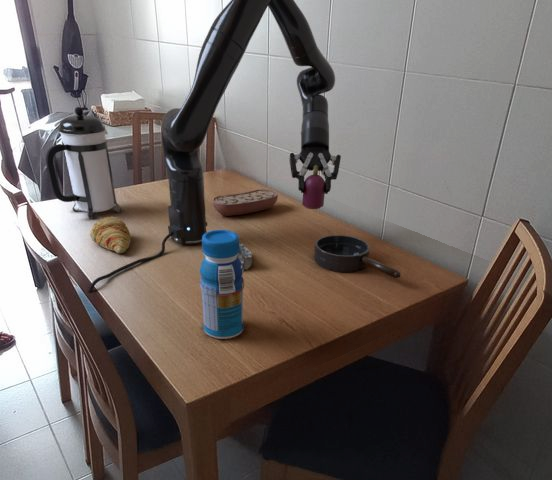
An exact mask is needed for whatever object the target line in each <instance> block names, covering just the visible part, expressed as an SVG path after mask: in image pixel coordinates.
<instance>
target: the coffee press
mask: <svg viewBox="0 0 552 480" xmlns="http://www.w3.org/2000/svg"><path fill="white" fill-rule="evenodd" d="M74 113H75V114H76V115H71V116H66V117H64V118H63V119H61V120H60V122H59V126H58V128H57V129H58V132H59V134H60V137H61V144H55V145H52V146H51V147H49V149H48V150H47V152H46V155H45V164H46V165H45V166H46V171H47V174H48V179H49V183H50V187H51V190H52V193H53V195H54V197H56V199H58V200H59V201H61V202H64V203H72V202H74V205H73V207H72V211H73V212H74V213H75V212H78V211H79V210H80V211H82V212H86V213H88V214H87V215H88V216H87V217H88V219H89V220H95V215H96V213H101V212H106V211H109V210H114V211H115V212H116V213H120V212H121V211H122V206H120V204H119V203H118V202H117V198H116V197H117V196H116V191H115V185H114V179H113V172H112V166H111V161H110V153H109V148H108V141H107V138H106V135H108V134H109V133H108V130H107V129H106V126H105V125H104V124H103V121H102V120H101V119H99V118H98V117H96V116H91V115H83V114H84V110H83V108H82V107H81V106H77V107H75V109H74ZM62 151H63V153H64V157H65V161H66V167H67V171H68V175H69V181H70V185H71V186H70V187H71V190H72V194H71V195H63V194H62V192H61V190H60V186H59V182H58V178H57V173H56V169H55V164H54V158H55V155H57V153H60V152H62ZM115 206H116V207H117V208H118V209H117V208H116V207H115ZM75 207H76V208H77V209H76V208H75Z"/></svg>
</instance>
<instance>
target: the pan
mask: <svg viewBox="0 0 552 480" xmlns="http://www.w3.org/2000/svg"><path fill="white" fill-rule="evenodd" d="M370 251H371V248H370V245H369V243H368V242H367V241H365V240H363V239H361V238H358V237H355V236H351V235H343V234H329V235H325V236H321V237H319V238H318V239H316V241H315V242H314V251H313V260H314V262H315V264H317V265H318V266H319V267H320V268H322V269H325V270H328V271H331V272H336V273H337V272H338V273H354V272H358V271H360V270H362V269H364V268H365V267H366V266H367V265H365V264H363V263H362V261H361V259H362V258H363V257H368V258H370Z"/></svg>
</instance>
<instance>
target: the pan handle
mask: <svg viewBox="0 0 552 480" xmlns="http://www.w3.org/2000/svg"><path fill="white" fill-rule="evenodd" d="M361 261H362V263H363V264H365V265H366V266H368V267H370V268H372V269H375V270H377V271H379V272H381V273H383V274H385V275H388V276H390V277H392V278H394V279H399V278H400V277H401V271H399V270H398V269H395V268H393V267H392V266H391V267H390V266H388V265H386V264H384V263H381V262H379V261H377V260H375V259H372V258H370V257H369V258H368V257H363V258H362V259H361Z"/></svg>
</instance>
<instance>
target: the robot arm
mask: <svg viewBox="0 0 552 480" xmlns="http://www.w3.org/2000/svg"><path fill="white" fill-rule="evenodd" d="M267 8H268V9H269V10H270V12H271V14H272V16H273V18H274V20H275V22H276V24H277V26H278V28H279V30H280V33H281V35H282V37H283V39H284V42H285V44H286V47H287V49H288V52H289V54H290V57H291V59H292V62H293V63H294V64H295V66H298V67H308V68H305V69H303V70H300V72H299V73H298V74H297V77H296V81H295V82H296V86H297V91H298V93H299V97H300V101H301V106H302V114H301V115H302V116H301V117H302V121H301V130H300V152H299V153H298V154H295V153H294V152H290V153H289V167H290V172H291V173H290V174H291V178H292V179H297V180H298V183H297V184H298V186H297V187H298V188H297V189H298V191H300V193H301V194H303V193H304V181H305V176H306V175H307V173H308V171H310V172H311V171H312V172H313V169H314V166H315V165H317V166H318V172H320V173H321V175H322V176H323V178H324V181H325V195H328V194H329V193H330V191H331V189H332V181H336V180H337V179H338V175H339V170H340V165H341V159H342V156H341V154H337V155H332V154H331V152H330V122H329V101H328V99H327V97H326V96H324V95H322V94H326V93H328V92H330V91H332V90H333V88H334V87H335V85H336V75H335V71H334V69H333V67H332V66H331V64H330V62H329V61H328V60H327V59H326V57H325V56H324V55H323V53H322V51H321V50H320V49H319V47H318V45H317V42H316V39H315V36H314V33H313V31H312V29H311V25H310V23H309V21H308V20H307V18H306V16H305V14H304V13H303V12H302V10H301V9H300V7H299V5H298V4H297V3H296V1H295V0H230V1H229V2H228V3H227V4H226V6H225V7H224V8H222V10H221V11H220V12H219V14H218V15H217V16H216V18H215V19H214V20H213V23H212V24H211V25H210V28H209V29H208V31H207V34H206V36H205V38H204V41H203V42H202V44H201V45H202V46H201V48H200V51H199V54H198V57H197V63H196V68H195V74H194V79H193V83H192V85H191V88H190V90H189V93H188V95H187V97H186V98H185V101H184V102H183V104H182V106H181V107H175V108H171V109H169V110H168V111H167V112H165V114H164V116H163V117H162V120H161V124H160V126H161V127H160V129H161V130H160V132H161V133H160V134H161V143H162V151H163V157H164V163H165V167H166V171H167V177H168V178H167V179H168V187H169V188H168V189H169V199H170V204H169V205H168V206H167V211H168V222H169V225H168V226H167V228H168V229H167V230H168V234H167V235H166V236H165V237H164V238H163V240H162V242H161V250H160V252H158V253H157V254H154V255H153V256H149V257H144V258H139V259H136V260H134V261H132V262H129V263H127V264H125V265H122V266H120V267H118V268H117V269H115V270H113V271H111V272H109V273H106V274H104V275H102V276H99V277H97V278H95V279H94V280H93V281H92V282H91V284H90V285H89V287H88V289H87V294H90V293H92V292H93V289H94V288H95V286H96V285H97V283H99V282H100V281H103V280H105V279H108V278H110V277H112V276H115V275H116V274H118V273H120V272H122V271H124V270H126V269H128V268H130V267H134V266H135V265H137V264H140V263H144V262H148V261H151V260H154V259H157V258H159V257H161V256H162V255H163V254H164V253H165V250H166V243H167V240H168V239H171V240H172V241H173V242H176V243H177V244H179V245H180V246H187V245H188V246H189V245H191V246H192V245H199V244H202V236H203V235H204V234H205V233H207V232H208V231H207V227H208V222H207V218H206V217H207V216H206V215H207V214H206V198H205V196H206V195H205V179H204V178H205V177H204V166H203V164H202V162H201V158H200V155H199V148H200V147H201V146H202V145H203V143H204V140H205V139H206V136H207V134H208V131H209V129H210V126H211V123H212V121H213V117H214V115H215V113H216V110H217V108H218V105H219V103H220V102H221V100H222V97H223V95H224V94H225V92H226V91H227V88H228V86H229V84H230V83H231V80H232V79H233V77H234V74H235V72H237V71H236V70H237V69H238V67H239V65H240V63H241V61H242V59H243V58H244V55H245V53H246V51H247V49H248V47H249V44H250V42H251V40H252V38H253V36H254V34H255V32H256V30H257V28H258V27H259V24H260V23H261V21H262V18H263V16H264V14H265V12H266V10H267ZM299 161H300V162H301V163H302V166H301V169H300V171H298V169H297V163H298V162H299ZM329 162H331V164H332V165H333V171H332V172H331V171H330V168H329V165H328V163H329Z"/></svg>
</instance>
